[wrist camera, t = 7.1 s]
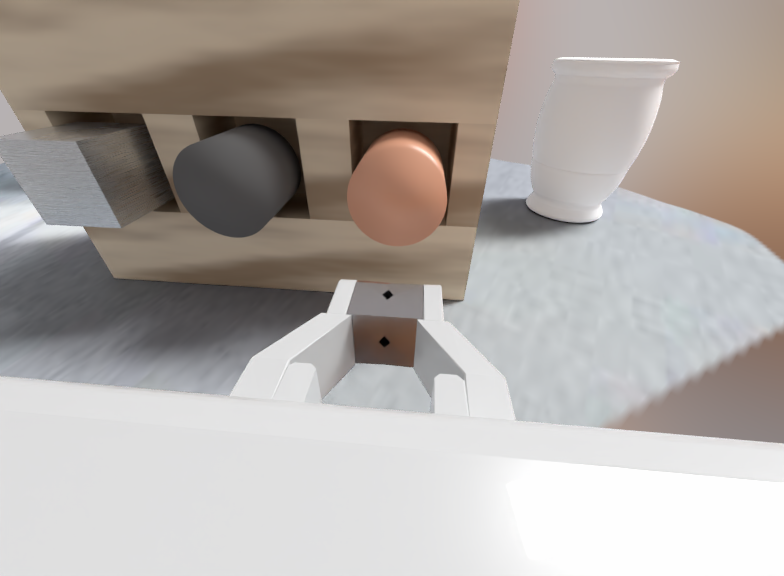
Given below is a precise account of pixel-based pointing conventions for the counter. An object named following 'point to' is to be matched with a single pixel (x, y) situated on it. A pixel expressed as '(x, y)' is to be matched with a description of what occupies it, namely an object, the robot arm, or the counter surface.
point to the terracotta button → (398, 189)
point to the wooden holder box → (274, 118)
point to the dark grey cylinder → (237, 179)
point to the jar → (592, 131)
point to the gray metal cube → (88, 172)
